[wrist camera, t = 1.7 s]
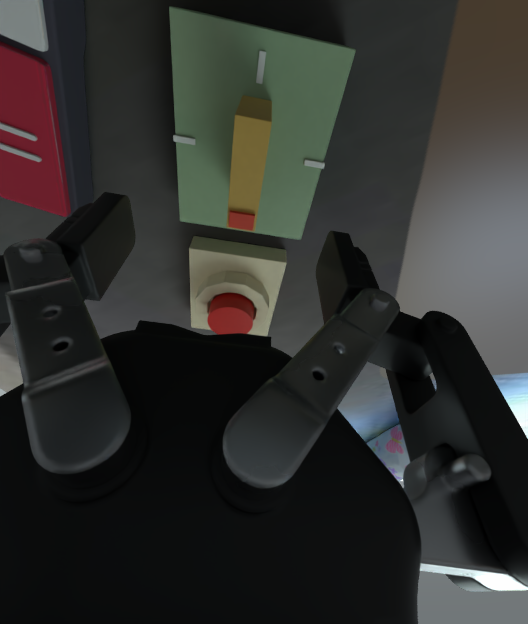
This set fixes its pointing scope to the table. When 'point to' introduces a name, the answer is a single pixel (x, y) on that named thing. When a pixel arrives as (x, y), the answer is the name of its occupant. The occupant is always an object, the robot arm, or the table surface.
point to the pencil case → (391, 451)
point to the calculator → (44, 105)
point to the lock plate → (223, 105)
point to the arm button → (230, 314)
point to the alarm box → (234, 278)
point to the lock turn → (248, 161)
